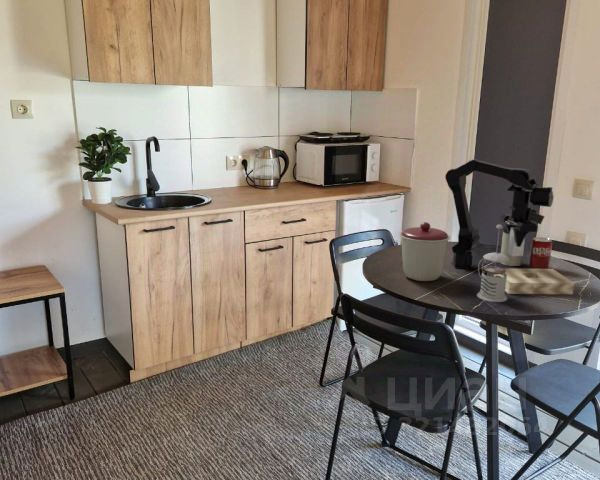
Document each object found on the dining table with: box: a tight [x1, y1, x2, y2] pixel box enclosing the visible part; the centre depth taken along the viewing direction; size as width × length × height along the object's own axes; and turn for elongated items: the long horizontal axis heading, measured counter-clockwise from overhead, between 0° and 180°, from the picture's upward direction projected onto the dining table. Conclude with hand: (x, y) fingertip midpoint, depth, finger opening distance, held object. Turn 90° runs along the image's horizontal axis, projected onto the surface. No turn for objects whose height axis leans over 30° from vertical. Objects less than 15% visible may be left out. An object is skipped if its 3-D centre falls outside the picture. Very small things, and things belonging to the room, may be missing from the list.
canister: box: [399, 221, 451, 282], centre depth 191 cm, size 18×18×21 cm
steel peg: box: [508, 227, 526, 257], centre depth 191 cm, size 4×4×10 cm
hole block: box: [494, 268, 575, 295], centre depth 184 cm, size 22×16×4 cm
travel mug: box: [500, 221, 523, 267], centre depth 208 cm, size 8×8×18 cm
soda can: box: [528, 236, 553, 269], centre depth 203 cm, size 7×7×12 cm
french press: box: [476, 224, 509, 303], centre depth 172 cm, size 10×12×25 cm
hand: (516, 245), depth 192 cm, fingers closed on steel peg, 4 cm apart
